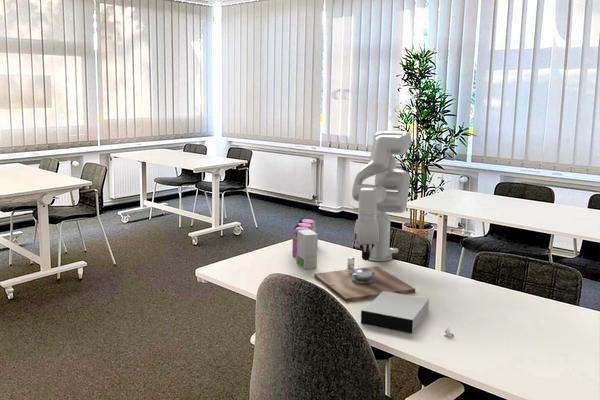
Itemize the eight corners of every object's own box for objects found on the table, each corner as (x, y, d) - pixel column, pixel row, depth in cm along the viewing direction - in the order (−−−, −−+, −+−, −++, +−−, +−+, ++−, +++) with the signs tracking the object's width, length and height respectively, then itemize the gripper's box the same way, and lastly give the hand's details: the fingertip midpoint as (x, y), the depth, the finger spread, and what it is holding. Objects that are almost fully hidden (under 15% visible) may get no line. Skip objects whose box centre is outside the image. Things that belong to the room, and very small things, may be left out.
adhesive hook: (446, 334, 187) (447, 325, 186) (454, 336, 185) (454, 327, 185) (442, 337, 184) (443, 328, 184) (450, 339, 183) (450, 330, 182)
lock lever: (377, 279, 229) (378, 266, 228) (356, 282, 226) (356, 269, 225) (359, 267, 244) (359, 255, 243) (339, 269, 240) (339, 258, 239)
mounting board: (377, 269, 250) (377, 263, 250) (415, 292, 223) (415, 286, 222) (314, 277, 239) (314, 271, 239) (345, 302, 212) (345, 295, 212)
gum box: (301, 243, 290) (301, 217, 288) (316, 244, 289) (317, 218, 286) (291, 257, 267) (292, 228, 265) (308, 258, 266) (309, 229, 263)
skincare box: (296, 264, 256) (296, 230, 253) (309, 262, 259) (310, 229, 256) (304, 269, 249) (304, 234, 246) (317, 267, 252) (318, 233, 249)
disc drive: (360, 324, 194) (361, 310, 193) (382, 302, 213) (382, 290, 212) (411, 335, 186) (412, 320, 185) (428, 311, 206) (429, 298, 205)
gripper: (378, 214, 245) (376, 255, 248) (347, 216, 239) (345, 259, 243) (387, 218, 238) (385, 260, 241) (355, 220, 233) (353, 263, 236)
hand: (365, 259), depth 242 cm, fingers closed
